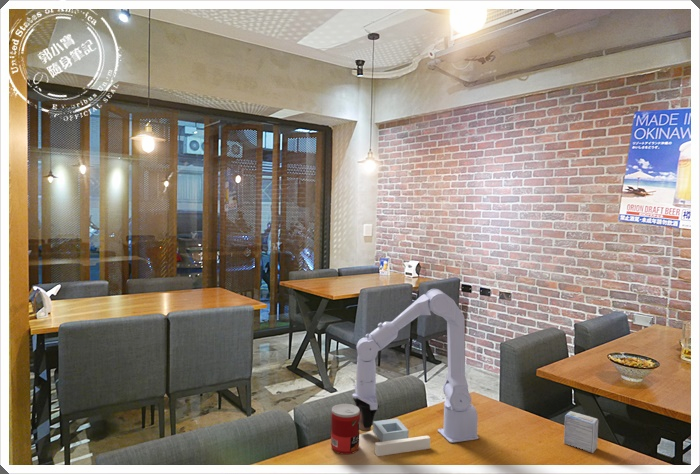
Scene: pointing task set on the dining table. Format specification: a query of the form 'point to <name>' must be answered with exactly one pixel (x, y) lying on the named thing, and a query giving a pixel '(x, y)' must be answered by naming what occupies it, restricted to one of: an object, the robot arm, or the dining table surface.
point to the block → (390, 430)
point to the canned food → (345, 428)
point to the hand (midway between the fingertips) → (365, 423)
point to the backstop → (402, 445)
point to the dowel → (363, 425)
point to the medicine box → (581, 431)
